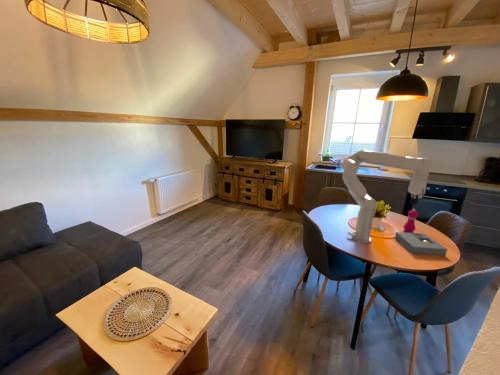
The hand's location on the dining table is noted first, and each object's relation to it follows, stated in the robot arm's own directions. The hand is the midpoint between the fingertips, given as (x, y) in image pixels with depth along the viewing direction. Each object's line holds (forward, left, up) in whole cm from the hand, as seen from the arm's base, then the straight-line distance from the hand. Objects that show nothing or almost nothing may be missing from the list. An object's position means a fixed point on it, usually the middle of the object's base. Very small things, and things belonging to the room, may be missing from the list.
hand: (413, 203), depth 143 cm
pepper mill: (+12, +16, -29) cm, 35 cm away
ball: (+11, -4, -27) cm, 29 cm away
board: (+7, -4, -29) cm, 30 cm away
